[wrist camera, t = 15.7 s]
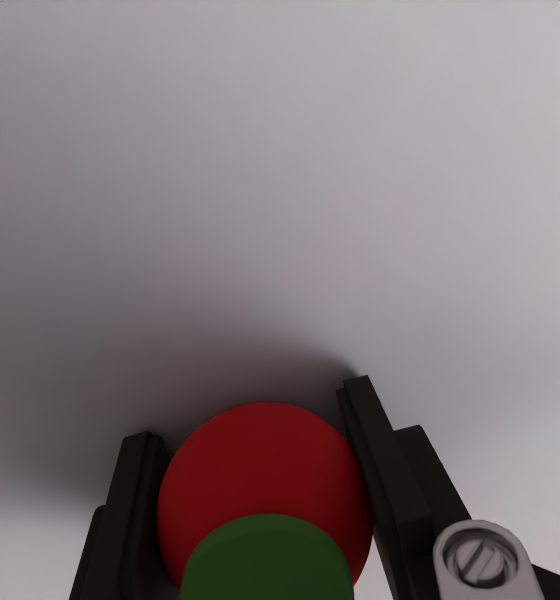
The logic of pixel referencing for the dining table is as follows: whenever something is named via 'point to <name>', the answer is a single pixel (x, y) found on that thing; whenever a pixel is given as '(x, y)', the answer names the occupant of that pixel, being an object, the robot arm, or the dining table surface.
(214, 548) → the strawberry
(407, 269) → the dining table surface
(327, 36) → the dining table surface
